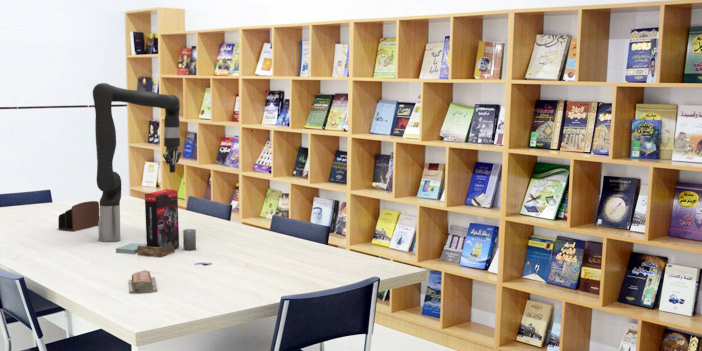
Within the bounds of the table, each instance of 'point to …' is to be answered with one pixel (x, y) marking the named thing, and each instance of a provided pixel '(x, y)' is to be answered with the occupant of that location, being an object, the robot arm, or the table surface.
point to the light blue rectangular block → (129, 248)
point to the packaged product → (142, 283)
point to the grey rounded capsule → (189, 239)
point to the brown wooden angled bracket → (155, 251)
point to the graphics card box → (162, 218)
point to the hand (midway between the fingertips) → (172, 172)
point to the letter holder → (80, 217)
